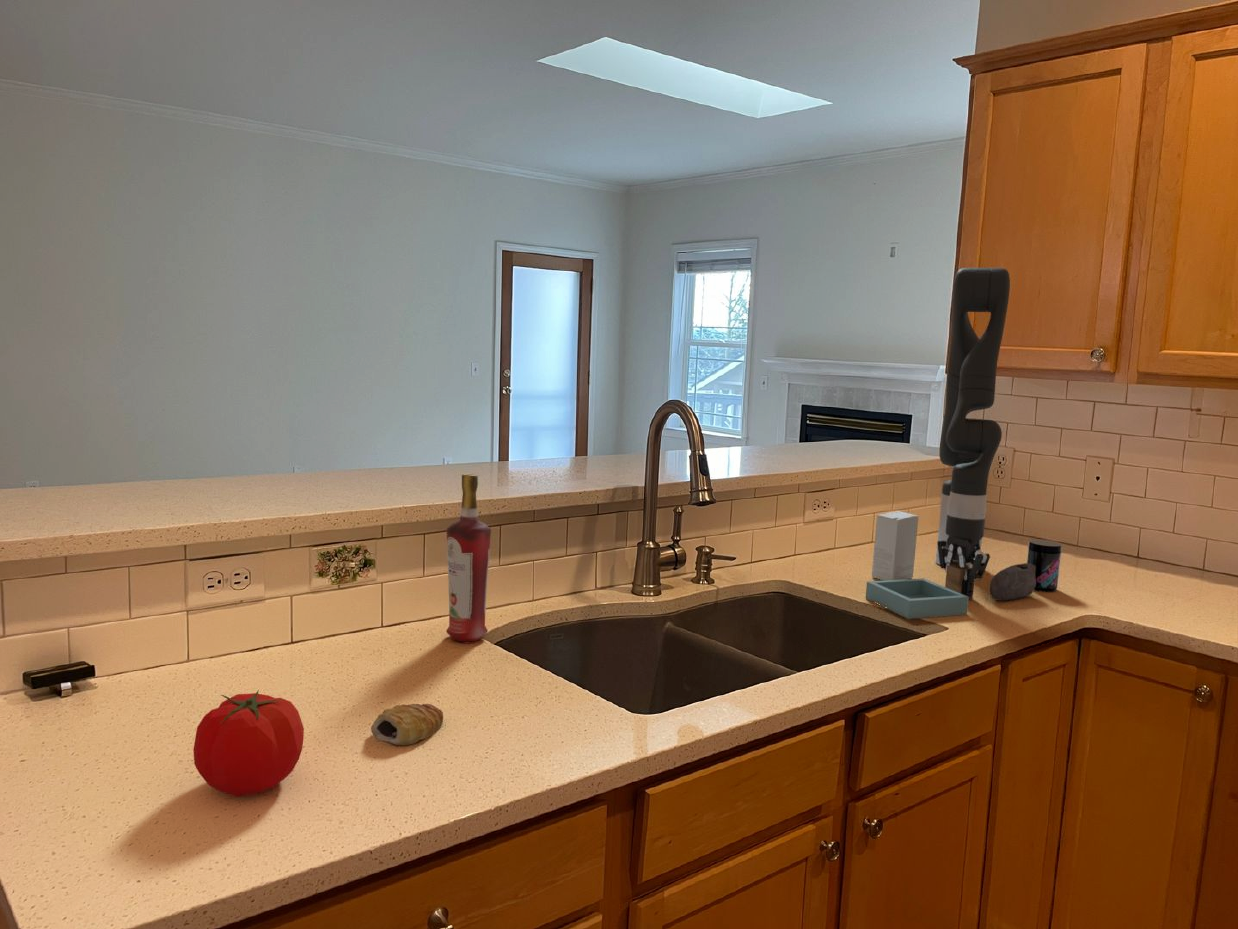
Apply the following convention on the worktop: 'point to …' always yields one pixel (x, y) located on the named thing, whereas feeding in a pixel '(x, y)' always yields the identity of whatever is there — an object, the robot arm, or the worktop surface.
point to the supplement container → (1045, 563)
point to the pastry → (407, 723)
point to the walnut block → (955, 578)
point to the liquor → (468, 568)
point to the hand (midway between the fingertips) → (958, 593)
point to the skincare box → (895, 546)
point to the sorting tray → (917, 598)
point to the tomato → (248, 743)
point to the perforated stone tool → (1013, 582)
